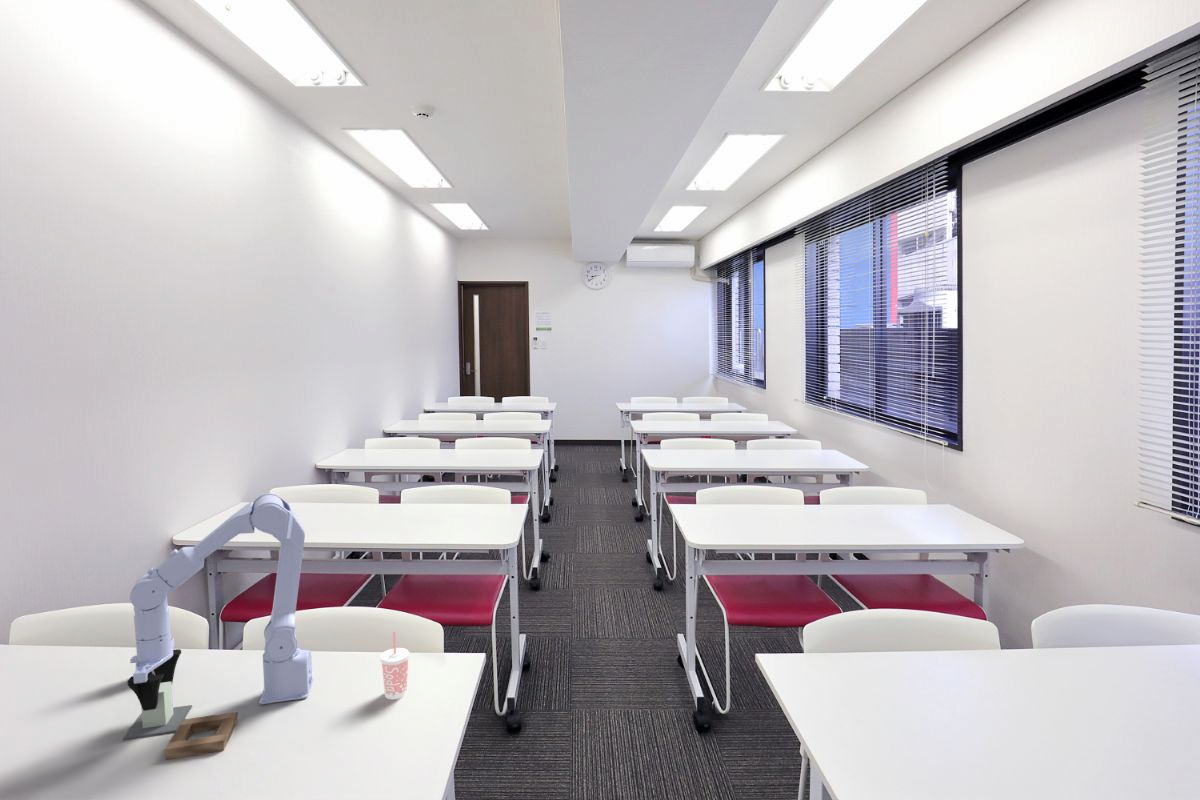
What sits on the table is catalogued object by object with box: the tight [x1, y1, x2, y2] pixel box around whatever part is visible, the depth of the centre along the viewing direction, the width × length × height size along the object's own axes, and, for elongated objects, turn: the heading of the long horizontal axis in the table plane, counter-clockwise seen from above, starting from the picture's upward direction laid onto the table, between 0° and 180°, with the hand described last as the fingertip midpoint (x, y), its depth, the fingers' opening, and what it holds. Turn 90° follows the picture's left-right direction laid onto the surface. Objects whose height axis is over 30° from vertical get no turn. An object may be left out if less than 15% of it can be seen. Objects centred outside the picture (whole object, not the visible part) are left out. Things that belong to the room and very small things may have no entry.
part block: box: [140, 681, 174, 728], centre depth 126 cm, size 4×4×7 cm
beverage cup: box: [379, 631, 410, 700], centre depth 137 cm, size 6×6×14 cm
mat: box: [122, 704, 193, 741], centre depth 126 cm, size 9×9×1 cm
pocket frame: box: [164, 711, 239, 760], centre depth 121 cm, size 10×10×2 cm
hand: (157, 698), depth 126 cm, fingers open, 7 cm apart
